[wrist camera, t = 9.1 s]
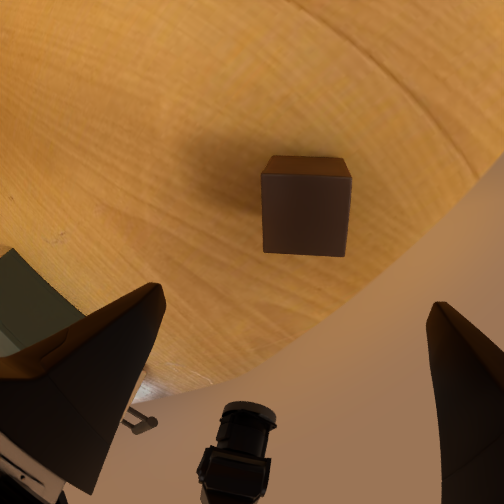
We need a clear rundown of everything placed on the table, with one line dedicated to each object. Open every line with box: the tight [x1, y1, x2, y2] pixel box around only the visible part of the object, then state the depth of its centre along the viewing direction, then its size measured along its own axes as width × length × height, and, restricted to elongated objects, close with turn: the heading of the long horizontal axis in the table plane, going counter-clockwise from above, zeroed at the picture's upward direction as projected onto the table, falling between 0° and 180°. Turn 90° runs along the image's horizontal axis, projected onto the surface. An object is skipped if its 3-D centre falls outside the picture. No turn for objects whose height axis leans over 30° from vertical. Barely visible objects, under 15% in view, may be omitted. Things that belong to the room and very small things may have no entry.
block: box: [261, 156, 352, 257], centre depth 16 cm, size 4×4×4 cm
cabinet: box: [0, 248, 86, 357], centre depth 28 cm, size 15×13×9 cm
